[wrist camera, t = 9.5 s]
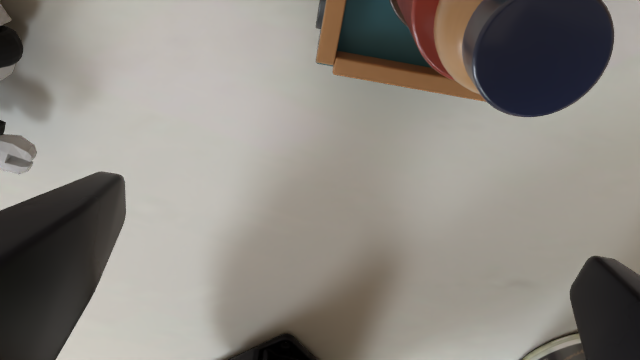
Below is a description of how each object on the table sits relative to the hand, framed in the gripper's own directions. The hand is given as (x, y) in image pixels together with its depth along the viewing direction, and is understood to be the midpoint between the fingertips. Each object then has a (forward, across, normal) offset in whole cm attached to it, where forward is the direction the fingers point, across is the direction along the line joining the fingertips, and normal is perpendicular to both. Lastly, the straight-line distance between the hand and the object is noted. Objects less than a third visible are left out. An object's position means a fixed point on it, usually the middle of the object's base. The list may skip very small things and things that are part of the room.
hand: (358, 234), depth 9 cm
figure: (+9, -2, -4) cm, 10 cm away
